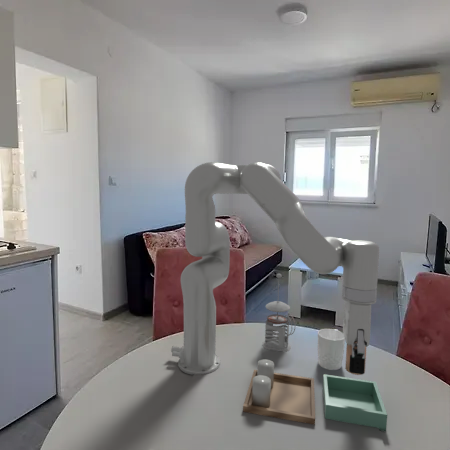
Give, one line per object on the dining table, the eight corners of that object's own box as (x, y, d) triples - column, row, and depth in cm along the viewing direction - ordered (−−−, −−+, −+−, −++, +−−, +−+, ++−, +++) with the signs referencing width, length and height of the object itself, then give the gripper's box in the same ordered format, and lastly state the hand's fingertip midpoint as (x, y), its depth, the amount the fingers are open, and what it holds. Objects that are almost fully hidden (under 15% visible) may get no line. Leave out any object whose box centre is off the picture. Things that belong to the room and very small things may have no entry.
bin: (324, 420, 77) (325, 404, 77) (322, 388, 90) (323, 374, 89) (386, 431, 74) (387, 414, 74) (374, 396, 87) (375, 381, 86)
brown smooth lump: (346, 373, 79) (347, 349, 78) (344, 363, 83) (345, 340, 83) (366, 376, 78) (367, 351, 77) (363, 366, 82) (364, 343, 82)
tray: (242, 413, 79) (243, 406, 79) (253, 376, 95) (254, 369, 95) (314, 427, 75) (315, 418, 75) (313, 385, 91) (314, 378, 91)
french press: (274, 336, 120) (276, 268, 117) (301, 348, 112) (304, 275, 109) (255, 344, 114) (258, 273, 111) (283, 358, 105) (286, 280, 102)
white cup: (345, 374, 97) (347, 341, 95) (316, 371, 98) (318, 338, 97) (341, 360, 104) (343, 330, 103) (315, 357, 106) (316, 327, 105)
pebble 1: (255, 388, 88) (256, 366, 88) (258, 378, 92) (258, 358, 92) (272, 390, 87) (273, 369, 86) (274, 381, 91) (275, 360, 91)
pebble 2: (250, 407, 80) (251, 383, 80) (253, 396, 85) (254, 374, 84) (269, 410, 79) (269, 386, 79) (271, 399, 84) (271, 376, 83)
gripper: (339, 282, 88) (336, 349, 90) (346, 303, 71) (342, 384, 73) (369, 284, 86) (366, 352, 88) (384, 307, 69) (379, 389, 72)
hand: (355, 366), depth 81 cm, fingers closed on brown smooth lump, 4 cm apart
